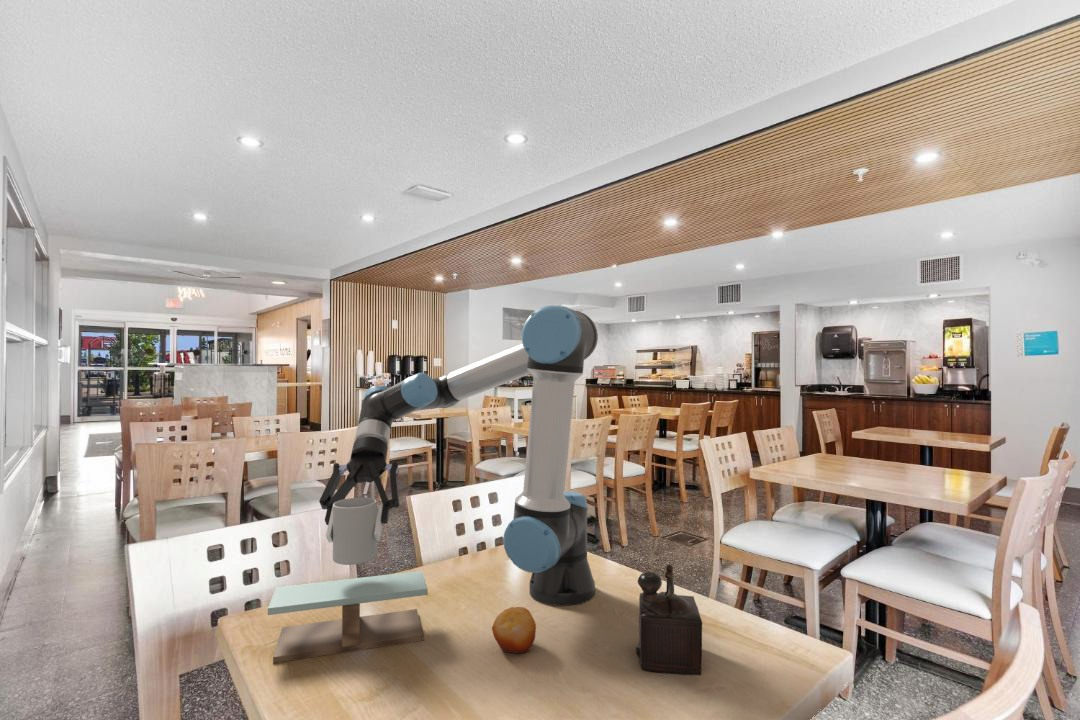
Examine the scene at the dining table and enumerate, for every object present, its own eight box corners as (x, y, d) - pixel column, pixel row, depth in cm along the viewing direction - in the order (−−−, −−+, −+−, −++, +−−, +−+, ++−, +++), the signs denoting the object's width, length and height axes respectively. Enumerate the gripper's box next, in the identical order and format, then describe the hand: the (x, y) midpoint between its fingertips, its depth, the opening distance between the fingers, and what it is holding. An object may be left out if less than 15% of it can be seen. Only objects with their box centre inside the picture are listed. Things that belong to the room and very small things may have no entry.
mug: (362, 566, 105) (361, 509, 105) (323, 563, 107) (323, 506, 107) (394, 546, 117) (393, 494, 117) (358, 543, 119) (358, 492, 119)
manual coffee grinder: (634, 641, 105) (634, 546, 105) (694, 645, 103) (694, 548, 103) (637, 688, 89) (637, 576, 90) (708, 693, 88) (707, 579, 88)
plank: (422, 576, 116) (422, 570, 116) (427, 594, 107) (427, 588, 107) (276, 593, 108) (276, 587, 108) (267, 615, 98) (267, 608, 98)
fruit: (545, 629, 107) (538, 602, 103) (533, 668, 100) (525, 641, 96) (506, 623, 109) (498, 596, 105) (492, 661, 103) (483, 634, 99)
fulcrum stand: (416, 613, 117) (416, 575, 117) (422, 640, 105) (422, 598, 105) (282, 632, 109) (282, 591, 109) (272, 663, 97) (273, 617, 97)
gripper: (420, 453, 128) (410, 545, 112) (326, 455, 126) (302, 548, 110) (417, 433, 123) (405, 527, 107) (318, 435, 121) (292, 530, 105)
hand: (353, 538), depth 109 cm, fingers closed on mug, 8 cm apart
